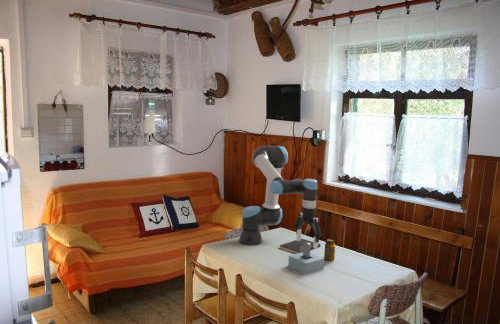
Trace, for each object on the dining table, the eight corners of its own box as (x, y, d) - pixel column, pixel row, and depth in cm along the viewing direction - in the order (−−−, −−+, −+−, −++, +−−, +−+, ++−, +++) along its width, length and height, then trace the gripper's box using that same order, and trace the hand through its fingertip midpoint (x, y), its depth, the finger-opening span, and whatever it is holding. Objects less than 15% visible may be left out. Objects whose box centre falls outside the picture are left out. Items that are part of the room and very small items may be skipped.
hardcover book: (279, 248, 262) (279, 245, 262) (300, 241, 279) (300, 238, 279) (299, 255, 252) (299, 251, 251) (320, 247, 268) (320, 244, 268)
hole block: (288, 265, 233) (288, 255, 232) (306, 261, 241) (306, 251, 240) (305, 274, 221) (306, 263, 221) (323, 268, 230) (324, 258, 229)
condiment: (337, 260, 244) (338, 240, 242) (327, 263, 239) (328, 243, 238) (328, 256, 250) (329, 237, 248) (318, 259, 245) (319, 239, 244)
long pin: (300, 266, 232) (301, 242, 230) (305, 265, 234) (307, 241, 232) (305, 269, 228) (306, 244, 227) (310, 267, 231) (312, 243, 229)
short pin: (298, 256, 248) (298, 247, 247) (303, 255, 250) (303, 246, 249) (302, 258, 245) (303, 249, 244) (307, 257, 247) (308, 247, 246)
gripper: (288, 203, 235) (287, 238, 237) (320, 213, 215) (318, 251, 217) (298, 201, 239) (296, 236, 242) (330, 211, 219) (328, 249, 222)
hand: (306, 244), depth 230 cm, fingers open, 13 cm apart
